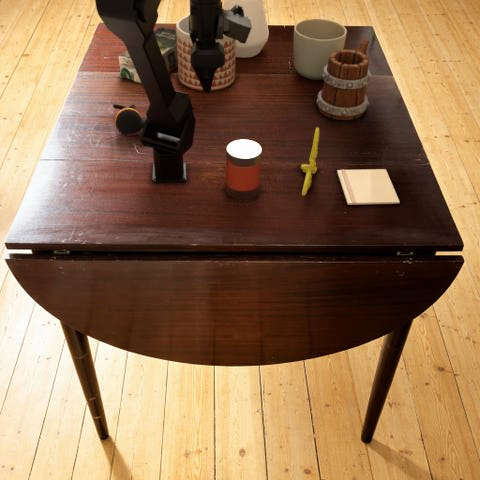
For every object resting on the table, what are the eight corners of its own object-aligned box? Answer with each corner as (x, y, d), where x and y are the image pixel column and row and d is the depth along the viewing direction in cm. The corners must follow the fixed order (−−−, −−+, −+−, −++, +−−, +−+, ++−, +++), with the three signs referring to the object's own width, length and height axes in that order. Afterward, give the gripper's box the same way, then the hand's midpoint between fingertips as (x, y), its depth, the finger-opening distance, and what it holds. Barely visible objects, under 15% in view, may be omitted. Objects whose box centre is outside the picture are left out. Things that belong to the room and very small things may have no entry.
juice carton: (152, 89, 144) (150, 63, 139) (116, 80, 146) (113, 54, 142) (192, 57, 156) (192, 32, 152) (159, 49, 159) (157, 25, 155)
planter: (348, 81, 149) (356, 36, 141) (303, 89, 146) (308, 43, 138) (325, 59, 157) (331, 15, 149) (282, 66, 154) (285, 22, 146)
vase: (171, 87, 145) (167, 32, 135) (188, 62, 154) (186, 9, 145) (226, 95, 143) (227, 40, 133) (240, 70, 152) (242, 16, 143)
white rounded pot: (226, 35, 166) (227, -20, 155) (274, 43, 163) (277, -13, 153) (209, 56, 157) (209, -2, 147) (259, 64, 154) (262, 6, 144)
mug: (304, 112, 138) (317, 42, 129) (329, 97, 148) (343, 32, 139) (351, 127, 134) (368, 56, 125) (374, 111, 144) (391, 44, 135)
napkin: (399, 203, 116) (399, 201, 116) (347, 204, 115) (348, 202, 115) (385, 170, 123) (386, 168, 123) (336, 171, 123) (337, 169, 122)
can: (260, 199, 116) (263, 158, 109) (226, 200, 115) (227, 159, 108) (257, 179, 120) (260, 138, 113) (224, 180, 119) (225, 139, 113)
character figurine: (109, 124, 136) (114, 135, 126) (113, 98, 134) (118, 107, 124) (154, 133, 140) (163, 144, 129) (159, 108, 137) (168, 117, 127)
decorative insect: (309, 207, 123) (307, 195, 113) (293, 204, 123) (290, 192, 113) (323, 144, 123) (322, 127, 113) (307, 141, 123) (304, 124, 114)
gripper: (254, 19, 105) (250, 104, 116) (245, -20, 117) (242, 60, 129) (189, 19, 104) (192, 105, 115) (187, -20, 117) (189, 60, 128)
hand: (206, 81), depth 122 cm, fingers open, 9 cm apart
